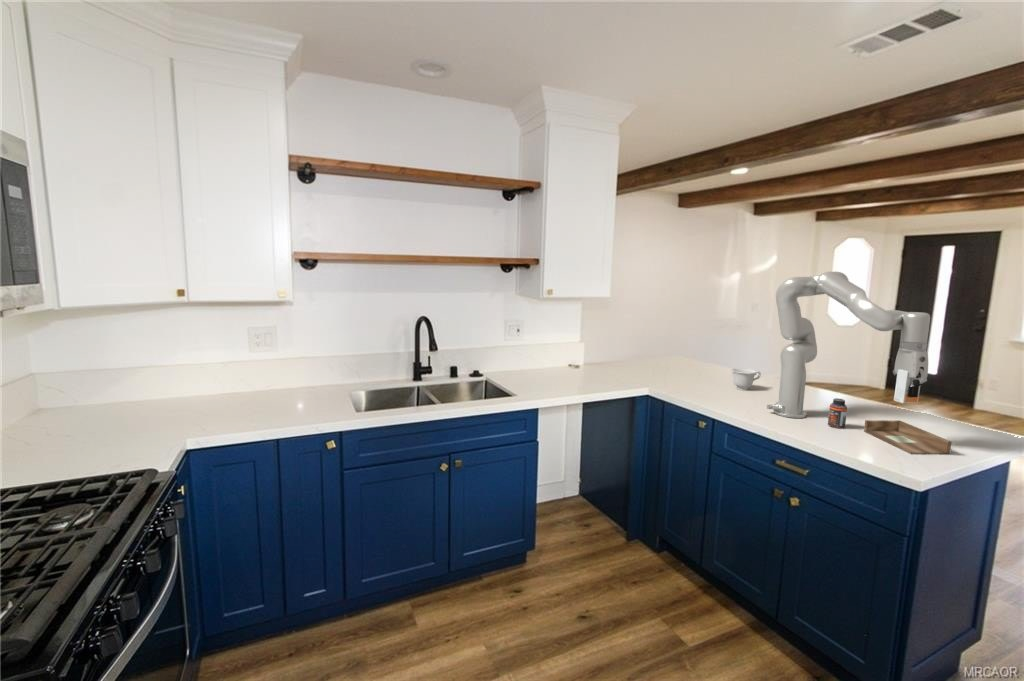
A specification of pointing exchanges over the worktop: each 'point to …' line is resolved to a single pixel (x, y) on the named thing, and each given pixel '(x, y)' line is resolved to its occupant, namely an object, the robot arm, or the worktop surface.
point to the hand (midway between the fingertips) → (906, 394)
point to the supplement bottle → (837, 413)
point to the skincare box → (904, 388)
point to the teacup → (744, 377)
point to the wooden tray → (907, 437)
